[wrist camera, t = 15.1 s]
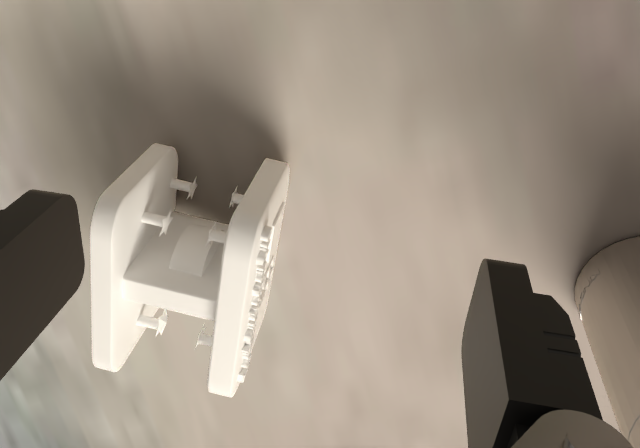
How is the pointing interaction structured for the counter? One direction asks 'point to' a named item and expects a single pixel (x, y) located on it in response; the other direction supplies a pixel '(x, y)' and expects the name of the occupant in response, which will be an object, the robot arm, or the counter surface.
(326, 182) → the counter surface
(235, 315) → the cable organizer
